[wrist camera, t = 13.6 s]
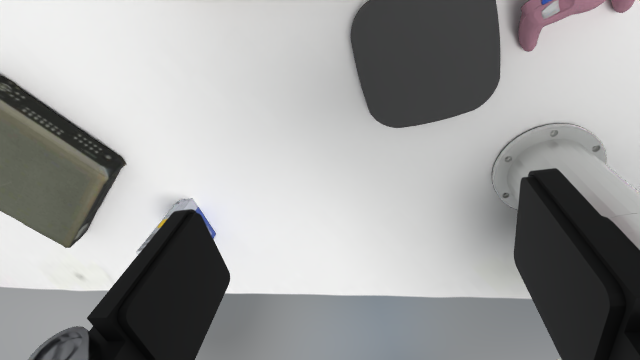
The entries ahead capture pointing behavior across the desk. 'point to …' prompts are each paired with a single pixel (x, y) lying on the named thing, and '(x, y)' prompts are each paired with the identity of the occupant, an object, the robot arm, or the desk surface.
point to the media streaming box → (426, 58)
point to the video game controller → (555, 15)
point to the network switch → (50, 168)
